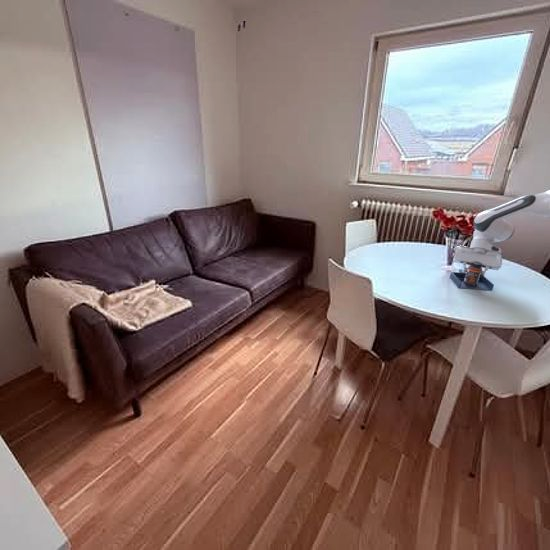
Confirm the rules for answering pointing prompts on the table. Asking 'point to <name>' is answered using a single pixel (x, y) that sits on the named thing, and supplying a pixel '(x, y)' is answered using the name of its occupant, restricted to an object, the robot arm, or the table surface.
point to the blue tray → (481, 285)
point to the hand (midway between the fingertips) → (473, 273)
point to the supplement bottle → (473, 274)
